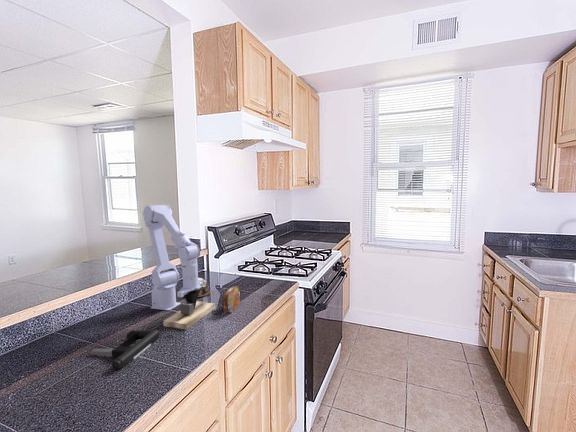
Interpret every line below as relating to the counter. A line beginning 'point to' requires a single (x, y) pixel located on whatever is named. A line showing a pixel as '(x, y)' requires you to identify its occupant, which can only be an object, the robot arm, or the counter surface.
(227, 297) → the tin
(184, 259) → the robot arm
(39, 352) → the counter surface
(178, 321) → the slider board
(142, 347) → the door handle
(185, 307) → the fader knob
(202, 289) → the skull
